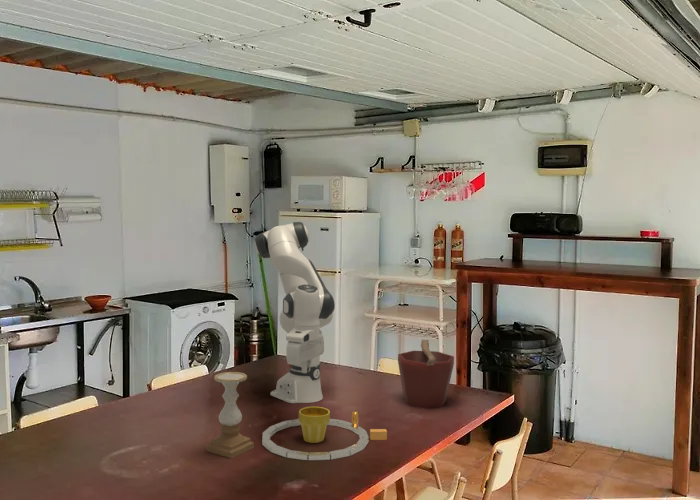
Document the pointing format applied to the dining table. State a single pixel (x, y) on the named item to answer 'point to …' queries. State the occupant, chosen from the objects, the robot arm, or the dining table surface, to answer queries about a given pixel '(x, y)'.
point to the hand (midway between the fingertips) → (305, 372)
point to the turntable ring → (317, 455)
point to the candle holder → (230, 420)
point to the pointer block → (378, 434)
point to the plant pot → (314, 423)
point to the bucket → (425, 376)
